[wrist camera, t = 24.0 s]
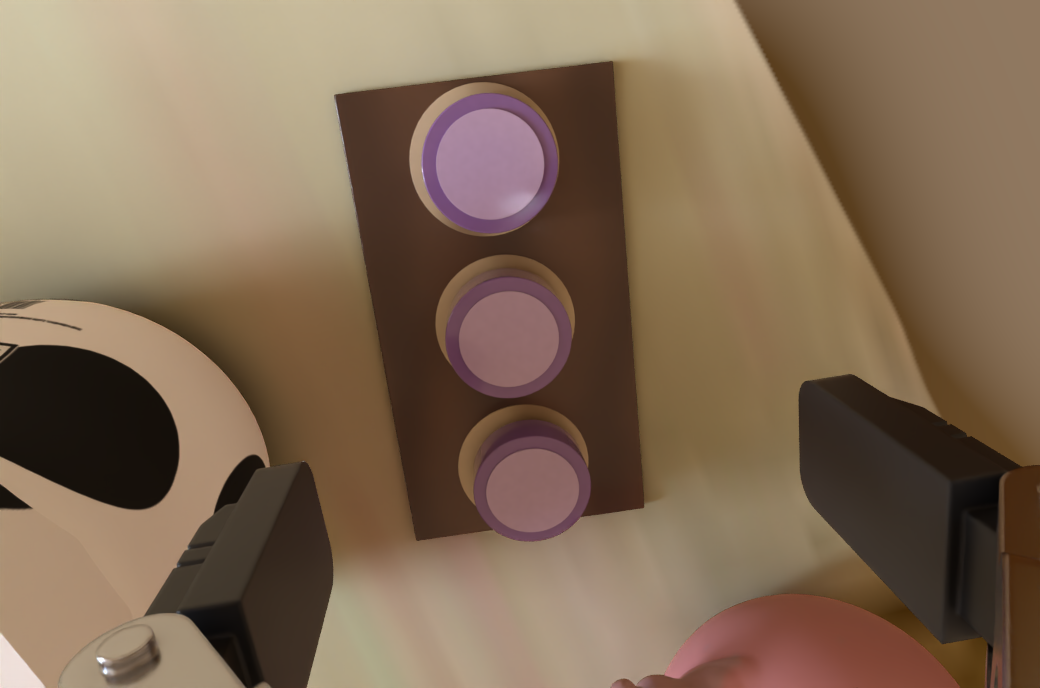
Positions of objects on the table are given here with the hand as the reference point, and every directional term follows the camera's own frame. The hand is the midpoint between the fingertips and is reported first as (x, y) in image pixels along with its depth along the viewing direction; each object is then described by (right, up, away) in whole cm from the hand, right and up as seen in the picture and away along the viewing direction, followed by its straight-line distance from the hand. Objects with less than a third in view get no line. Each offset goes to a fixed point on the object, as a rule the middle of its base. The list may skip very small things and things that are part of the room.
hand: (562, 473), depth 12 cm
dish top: (0, -4, +25) cm, 25 cm away
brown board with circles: (-1, +3, +23) cm, 23 cm away
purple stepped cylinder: (-2, +10, +20) cm, 23 cm away
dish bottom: (-1, +3, +22) cm, 23 cm away
